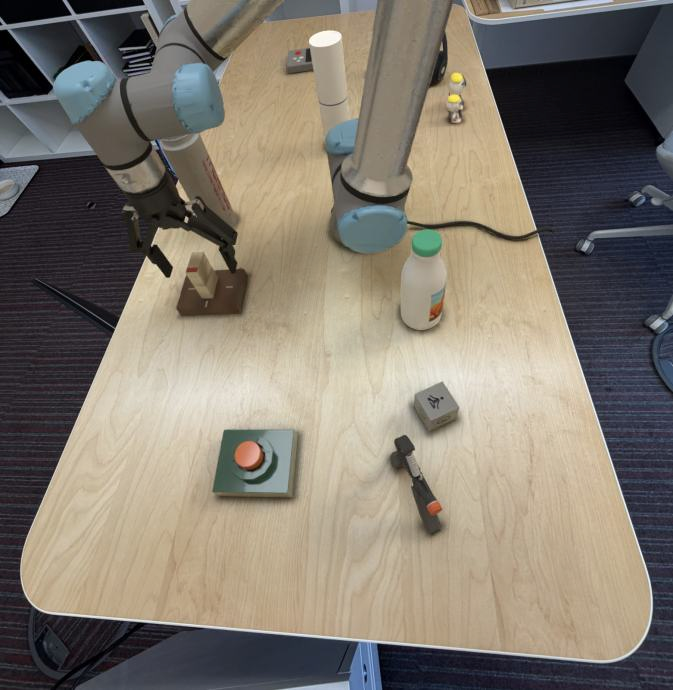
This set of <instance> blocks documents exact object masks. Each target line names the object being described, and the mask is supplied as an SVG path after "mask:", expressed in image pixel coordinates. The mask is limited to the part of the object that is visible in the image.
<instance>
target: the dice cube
mask: <svg viewBox="0 0 673 690" xmlns="http://www.w3.org/2000/svg"><path fill="white" fill-rule="evenodd" d="M413 398H414V401H413V408H414V409H415V411H416V412H417V415H418V416H419V417H420V420H421V421H422V423H423V424H424V426H425V428H426V430H427V432H431V431H433V430H436V429H438V428H440V427H442V426H444V425H446V424H448V423H450V422H452V421H455V420H457V416H458V413H459V410H460V406H459V404H458V403H457V401H456V400H455V398H454V396H453V395H452V393H451V392H450V390H449V388H448V387H447V386H446V384H445V382H444V381H440V382H437V383H435V384H434V385H431V386H430V387H427V388H424V389H423V390H421V391H418V392H416V393H415V394H414V397H413Z"/></svg>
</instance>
